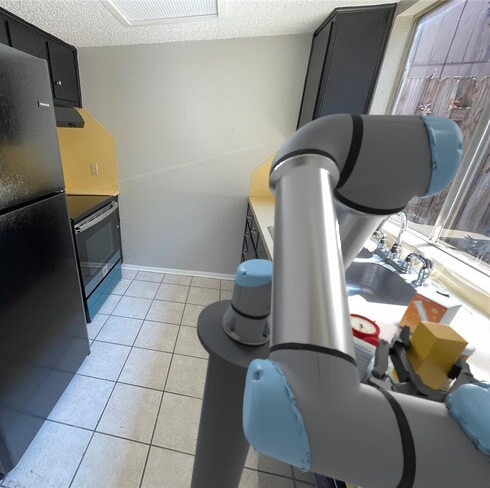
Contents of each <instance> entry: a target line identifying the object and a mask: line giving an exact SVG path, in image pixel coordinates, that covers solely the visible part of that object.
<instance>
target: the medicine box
mask: <svg viewBox="0 0 490 488" xmlns="http://www.w3.org/2000/svg"><path fill="white" fill-rule="evenodd" d="M353 340H354V348H355V355H356V362H357V368H358V373H359V379H360V382H362V380H363V378H364V376H365V374H366V372H367V370H368V368H369V366H370V364H371V363H372V360H373V358H374V357H375V350H376V347H375V346H373V345H371V344H369V343H367V342H365V341H363V340H361V339H358V338H356V337H354V336H353Z"/></svg>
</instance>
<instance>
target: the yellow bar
mask: <svg viewBox="0 0 490 488" xmlns="http://www.w3.org/2000/svg"><path fill="white" fill-rule="evenodd" d="M465 339H466V338H464V337H463V336H462V335H460V334H459V333H458V332H457V331H456V330H454V328H452V327H451V325H445V324H438V323H431V322H424V321H420V322H419V324H418V325H417V327H416V329H415V331H414V333H413V334H412V335H410V341H409V348H408V350H407V351H406V354H407V356H408V358H409V360H410V362H411V364H412V366H413V368H414V370H415V372H416V374H419V375H420V377H421V379H422V381H423V383H424V384H426V385H427V386H429V387H431V388H433V389H435V390H439V389H438V388H439V386H440V385H441V383H442V382H443V380H444V379H445V377H446V376H447V374H448V373H449V371H450V370H451V368H452V367H453V365H454V364H455V363H456V361H457V360H458V358H459V357H460V355H461V354H462V352H463V351H464V349H465V348H466V346H467V345H468V342H467V341H466V340H467V339H466V340H465ZM392 374H393V375H394V376H395V378H396V379H397V381H398V382H399V380H398V377H397V374H396V372H395V369H393V371H392ZM399 383H400V382H399Z"/></svg>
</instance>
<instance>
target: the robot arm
mask: <svg viewBox="0 0 490 488" xmlns="http://www.w3.org/2000/svg"><path fill="white" fill-rule="evenodd" d="M463 149H464V137H463V132H462V130H461V128H460V127H459V125H458V124H457V122H455V120H453V119H451V118H448V117H445V116H432V115H423V114H422V113H415V114H412V115H411V114H359V113H358V114H350V113H334V114H328V115H325V116H321V117H319V118H316V119H314V120H311V121H310V122H308V123H306V124H305V125H303V126H301V127H299V128H298V129H297V130H295V131H294V132H293V133H292V134H291V135H290V136H289V137H288V138H287V139H286V140H285V141H284V142H283V143H282V144H281V145H280V147H279V149H278V150H277V152H276V153H275V154H274V157H273V160H272V161H271V164H270V168H269V175H268V187H269V188H268V189H269V192H270V193H271V195H272V196H273V197H274V214H273V215H274V220H273V243H272V244H273V245H272V261H271V260H269V259H262V258H261V259H260V258H254V259H249V260H248V259H247V260H246V261H243V262H241V263H240V264H238V267H237V269H236V274H235V276H234V277H233V279H234V280H233V282H234V284H233V291H232V296H231V299H232V300H231V299H230V300H231V305H230V306H229V308H228V309H227V311H226V313H225V314H224V316H223V319H222V329H223V331H224V333H225V334H226V335H227V336H228V337H229V338H230V339H231V340H233V341H234V342H236V343H239V344H241V345H244V346H249V347H259V346H263V345H265V344H267V343H268V342H269V341H270V349H269V355H270V356H269V359H266V360H262V359H255V360H253V361H252V362H251V363H250V365H249V368H248V372H247V376H246V386H245V392H244V401H243V429H244V434H245V437H246V439H247V441H248V442H249V444H250V447H252V448H253V450H254V451H255V452H257V453H260V454H262V455H264V456H268V457H270V458H273V459H275V460H277V461H280V462H283V463H285V464H288V465H291V466H293V467H295V468H297V469H298V471H301V472H304V473H308V472H312V473H315V474H318V475H321V476H324V477H328V478H330V479H334V480H337V481H340V482H343V483H347V484H349V485H353V486H356V487H359V488H490V382H489V381H486V380H483V379H481V380H479V379H477V378H476V377H475V375H474V374H473V373H472V371H471V367H470V364H469V363H468V362H467V361H466V362H464V361H462V360H461V358H460V357H459V358H458V360H457V361H456V363H455V364H454V365H453V367H452V368H451V370H450V371H449V373H448V374H447V378H449V379H452V380H453V381H454V382H452V384H451V386H450V388H448V391H447V393H446V392H443V391H442V390H439V389H437V390H435V389H433V388H431V387H429V386H427V385H426V384H424V383H423V381H422V379H421V377H420V375H419V374H416V372H415V370H414V368H413V366H412V364H411V362H410V360H409V358H408V356H407V354H406V351H407V350H408V348H409V341H410V338H411V335H410V334H411V332H410V327H409V326H406V325H404V327H402V329H401V330H400V333H399V335H398V334H394V335H393V336H392V339H391V340H390V342H389V341H388V340H386V339H384V338H381V339H379V344H378V346H377V348H376V350H375V353H374V356H373V358H374V359H373V367H372V369H371V371H370V373H369V375H368V377H367V379H366V383H367V384H365V383H361V381H360V379H359V373H358V368H357V362H356V355H355V348H354V340H353V333H352V326H351V318H350V314H351V312H350V305H349V304H350V303H349V298H348V297H349V296H348V289H347V282H346V276H345V273H346V271H347V270H348V269H349V267H350V266H351V265H352V263H353V262H354V260H355V259H356V258H357V256H358V255H359V254H360V252H361V251H362V250H363V248H364V247H365V246H366V244H367V243H368V242H369V240H370V239H371V237H372V236H373V235H374V233H375V232H376V230H377V229H378V228H379V226H380V225H381V224H382V223H383V221H384V219H385V218H386V217H392V216H396V215H398V214H400V213H402V212H403V211H404V210H405V209H406V208H407V207H408V205H409V204H410V203H411V201H412V200H413V199H414V198H416V197H418V198H421V199H427V198H430V197H434V196H438V195H439V194H441V193H443V192H444V191H445V189H447V188H448V187H449V186H450V184H451V183H452V181H453V180H454V179H455V176H456V175H457V173H458V171H459V168H460V166H461V162H462V158H463V155H464V152H463ZM270 312H271V319H270ZM389 360H390V361H391V364H392V367H394V369H395V372H396V374H397V377H398V380H399V382H400V383H398V384H392V383H391V382H390V378H389V377H388V376H389V373H387V372H386V371H387V369H388V367H389ZM377 385H378V386H380V387H381V388H383V389H381V388H377V387H376V386H377Z"/></svg>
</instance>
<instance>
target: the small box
mask: <svg viewBox="0 0 490 488" xmlns="http://www.w3.org/2000/svg"><path fill="white" fill-rule="evenodd" d="M462 306H463V304H462V303H459V302H457V301H455V300H453V299H451V298H449V297H448V296H445V295H443V294H440V293H438V292H436V291H434V290H431V289H430V288H428V289H422V290H418V291H415V293H414V295H413V296H412V298H411V299H410V302H409V304H408V306H407V307H406V309H405V311H404V313H403V315H402V317H401V319H400V321H399V323H398V326H399V327H400V328H403V327H404V325H406V326H409V327H410V334H412V335H413V333H414V331H415V329H416V327H417V325H418V324H419V322H420V321H424V322H431V323H438V324H445V325H449V326H451V325H450V324H451V323H452V322H453V320H454V319H455V316H456V315H457V313H458V312H459V310H460V309H461V307H462Z"/></svg>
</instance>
